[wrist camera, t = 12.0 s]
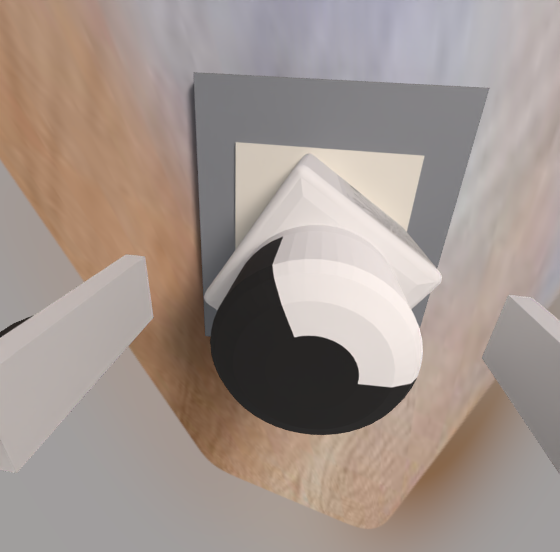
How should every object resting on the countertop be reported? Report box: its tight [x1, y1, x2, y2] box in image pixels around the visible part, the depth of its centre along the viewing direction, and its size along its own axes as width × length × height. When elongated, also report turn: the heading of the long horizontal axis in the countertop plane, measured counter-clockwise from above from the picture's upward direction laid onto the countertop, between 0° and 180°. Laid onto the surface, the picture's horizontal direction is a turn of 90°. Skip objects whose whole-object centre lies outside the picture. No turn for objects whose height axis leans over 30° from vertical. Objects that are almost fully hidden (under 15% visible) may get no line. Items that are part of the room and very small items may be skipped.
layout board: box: [194, 72, 489, 336], centre depth 22 cm, size 18×16×1 cm
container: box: [204, 153, 442, 435], centre depth 15 cm, size 8×8×13 cm
